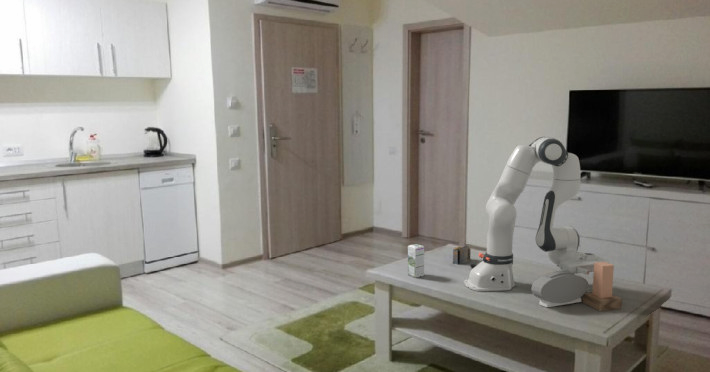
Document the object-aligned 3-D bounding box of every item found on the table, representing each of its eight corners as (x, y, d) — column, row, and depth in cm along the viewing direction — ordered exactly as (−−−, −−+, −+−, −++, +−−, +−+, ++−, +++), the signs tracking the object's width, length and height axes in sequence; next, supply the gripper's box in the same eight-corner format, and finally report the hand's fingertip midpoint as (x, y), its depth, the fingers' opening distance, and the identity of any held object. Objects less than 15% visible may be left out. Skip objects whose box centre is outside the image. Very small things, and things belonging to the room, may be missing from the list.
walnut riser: (599, 311, 210) (600, 301, 209) (582, 302, 220) (583, 292, 219) (621, 308, 212) (621, 298, 212) (603, 299, 222) (604, 290, 221)
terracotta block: (601, 298, 212) (602, 266, 210) (592, 294, 217) (594, 262, 215) (611, 297, 214) (613, 265, 212) (603, 292, 218) (604, 261, 217)
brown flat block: (457, 265, 273) (458, 246, 272) (453, 264, 275) (453, 245, 274) (471, 260, 281) (471, 242, 280) (466, 259, 283) (466, 241, 282)
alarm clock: (578, 297, 225) (577, 266, 224) (589, 300, 219) (588, 269, 218) (531, 305, 217) (530, 273, 217) (541, 308, 211) (540, 276, 211)
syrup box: (424, 275, 256) (424, 245, 254) (415, 278, 252) (415, 247, 250) (416, 272, 260) (416, 243, 258) (407, 275, 257) (407, 245, 255)
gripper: (554, 256, 227) (575, 266, 214) (596, 253, 232) (619, 262, 219) (553, 271, 228) (574, 281, 215) (595, 267, 233) (618, 277, 220)
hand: (597, 271), depth 217 cm, fingers open, 8 cm apart
